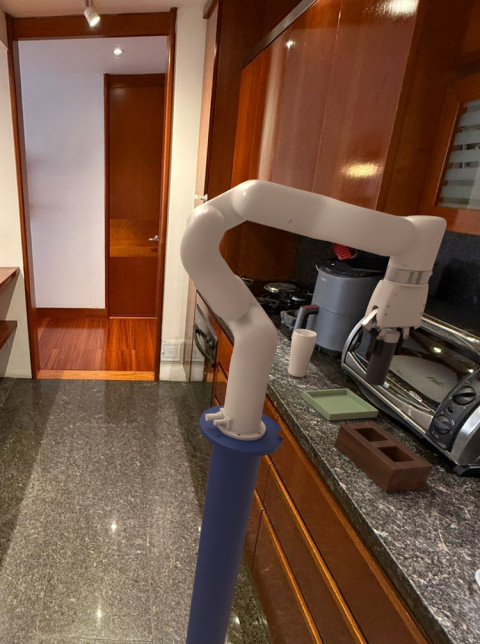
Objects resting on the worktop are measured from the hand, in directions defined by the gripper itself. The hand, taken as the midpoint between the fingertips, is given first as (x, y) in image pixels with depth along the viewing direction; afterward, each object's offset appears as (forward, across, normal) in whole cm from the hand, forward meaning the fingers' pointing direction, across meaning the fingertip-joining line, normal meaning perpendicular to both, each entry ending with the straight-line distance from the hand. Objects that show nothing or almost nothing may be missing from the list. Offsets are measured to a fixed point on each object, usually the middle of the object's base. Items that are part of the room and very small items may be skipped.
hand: (382, 352), depth 90 cm
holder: (+23, +4, +11) cm, 26 cm away
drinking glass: (+23, -3, -33) cm, 40 cm away
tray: (+23, -4, -13) cm, 27 cm away
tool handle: (+8, 0, 0) cm, 8 cm away
